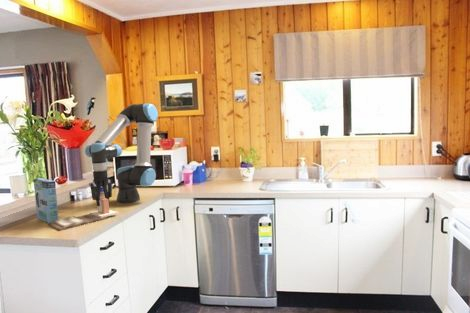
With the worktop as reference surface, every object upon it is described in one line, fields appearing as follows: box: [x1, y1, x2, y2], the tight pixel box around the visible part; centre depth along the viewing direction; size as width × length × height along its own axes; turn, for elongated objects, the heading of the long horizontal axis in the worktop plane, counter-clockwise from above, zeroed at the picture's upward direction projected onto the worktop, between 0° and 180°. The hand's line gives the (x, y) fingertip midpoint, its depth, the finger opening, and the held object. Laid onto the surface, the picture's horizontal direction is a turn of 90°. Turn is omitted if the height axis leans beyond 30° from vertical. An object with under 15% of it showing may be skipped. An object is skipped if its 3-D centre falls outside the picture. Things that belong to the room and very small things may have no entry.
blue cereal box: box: [33, 177, 59, 224], centre depth 205 cm, size 19×5×23 cm, turn 47°
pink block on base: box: [89, 196, 119, 218], centre depth 209 cm, size 10×14×9 cm
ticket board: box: [47, 213, 108, 232], centre depth 198 cm, size 25×16×2 cm, turn 137°
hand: (103, 210), depth 209 cm, fingers closed on pink block on base, 3 cm apart
